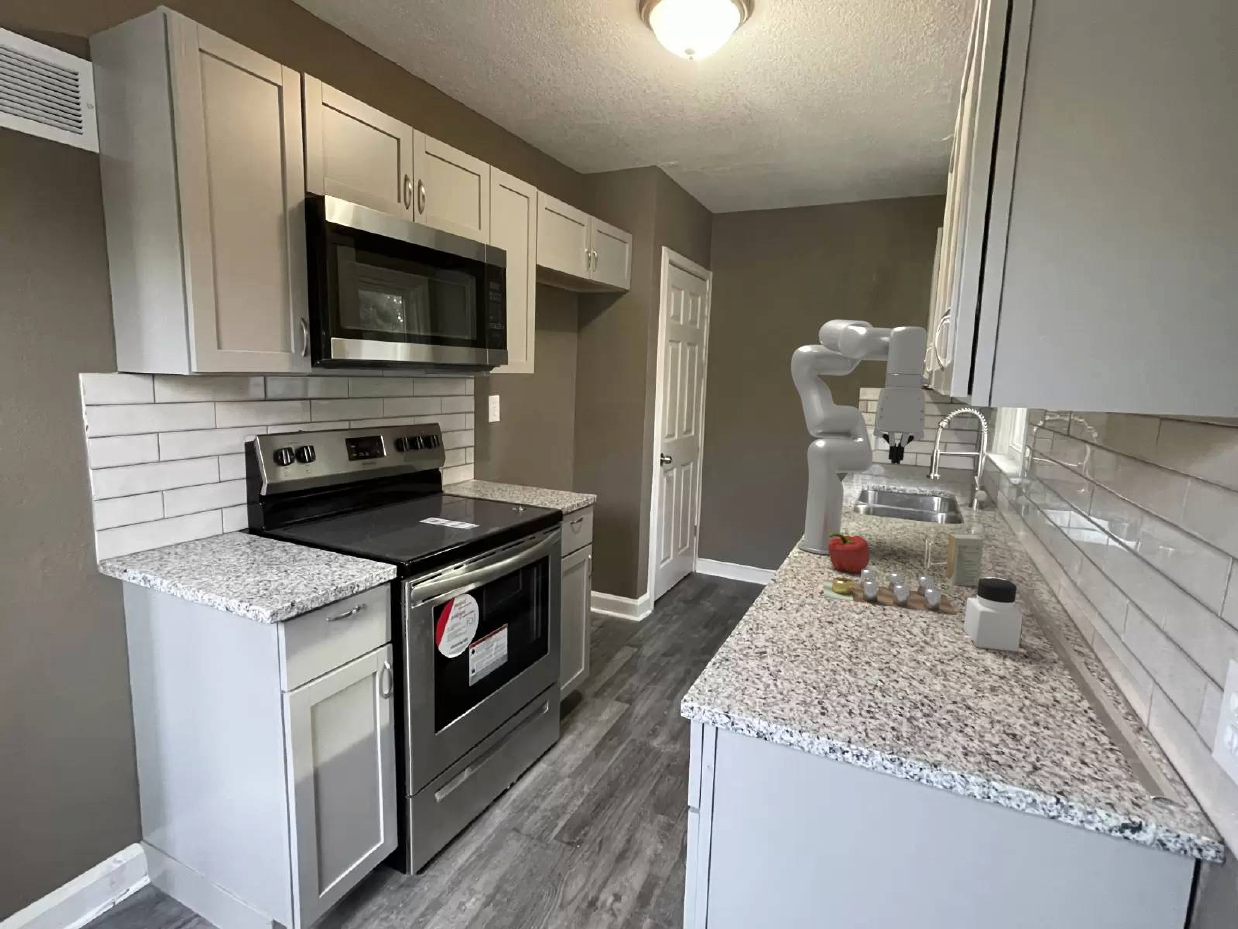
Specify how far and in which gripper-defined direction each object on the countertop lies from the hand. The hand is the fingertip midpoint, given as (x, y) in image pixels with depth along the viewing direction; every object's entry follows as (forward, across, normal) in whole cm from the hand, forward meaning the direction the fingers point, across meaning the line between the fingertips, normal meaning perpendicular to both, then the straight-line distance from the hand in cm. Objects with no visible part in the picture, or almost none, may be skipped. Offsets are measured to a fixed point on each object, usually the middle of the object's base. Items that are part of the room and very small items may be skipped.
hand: (895, 463), depth 143 cm
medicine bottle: (+29, -16, +28) cm, 44 cm away
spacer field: (+28, -2, +11) cm, 30 cm away
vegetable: (+29, +8, -8) cm, 32 cm away
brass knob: (+28, +10, +12) cm, 32 cm away
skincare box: (+29, -18, -8) cm, 35 cm away
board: (+29, +1, +10) cm, 31 cm away
